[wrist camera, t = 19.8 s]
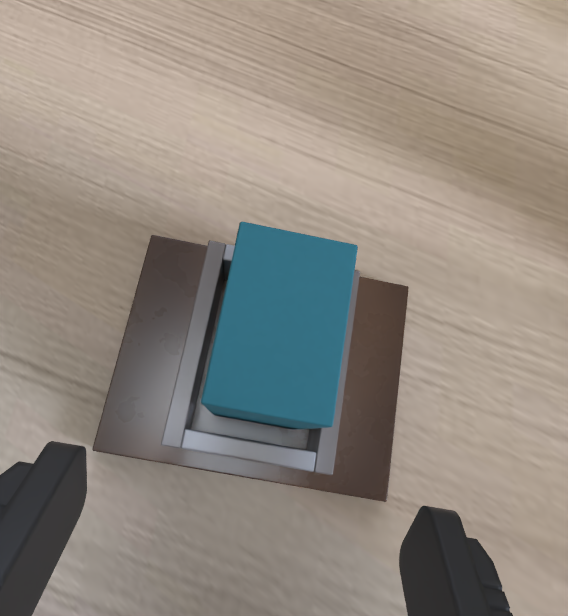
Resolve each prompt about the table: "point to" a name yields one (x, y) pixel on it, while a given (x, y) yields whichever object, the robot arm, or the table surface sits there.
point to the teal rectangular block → (281, 329)
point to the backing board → (237, 433)
